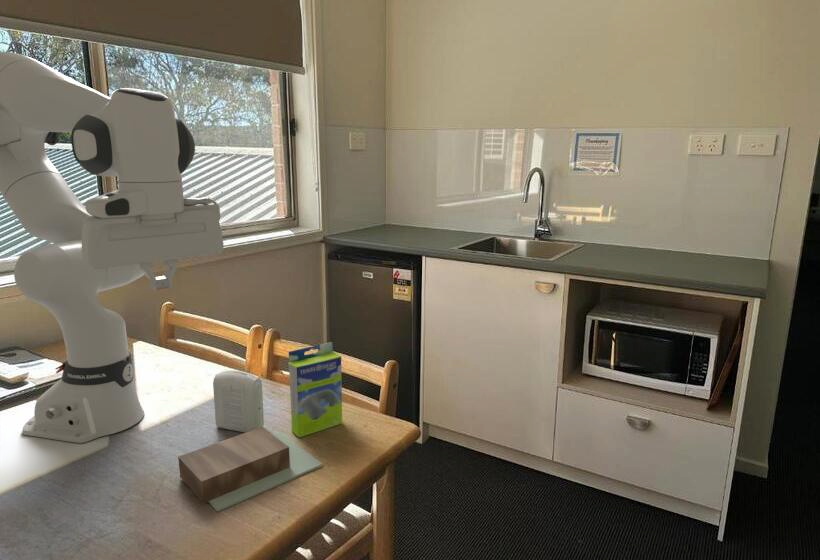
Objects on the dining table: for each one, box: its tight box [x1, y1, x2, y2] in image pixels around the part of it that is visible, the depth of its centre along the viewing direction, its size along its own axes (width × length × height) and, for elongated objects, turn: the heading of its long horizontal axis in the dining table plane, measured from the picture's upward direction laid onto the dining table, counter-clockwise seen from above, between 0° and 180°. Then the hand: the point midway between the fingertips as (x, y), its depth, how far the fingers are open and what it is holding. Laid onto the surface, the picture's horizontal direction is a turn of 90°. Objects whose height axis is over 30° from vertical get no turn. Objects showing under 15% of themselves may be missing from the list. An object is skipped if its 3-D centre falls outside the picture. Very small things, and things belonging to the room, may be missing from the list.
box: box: [287, 341, 343, 438], centre depth 116 cm, size 10×4×17 cm, turn 128°
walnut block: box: [177, 426, 290, 504], centre depth 100 cm, size 4×10×16 cm
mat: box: [208, 431, 323, 513], centre depth 102 cm, size 20×16×1 cm
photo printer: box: [212, 370, 265, 433], centre depth 116 cm, size 10×4×12 cm, turn 72°
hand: (161, 288), depth 89 cm, fingers closed
